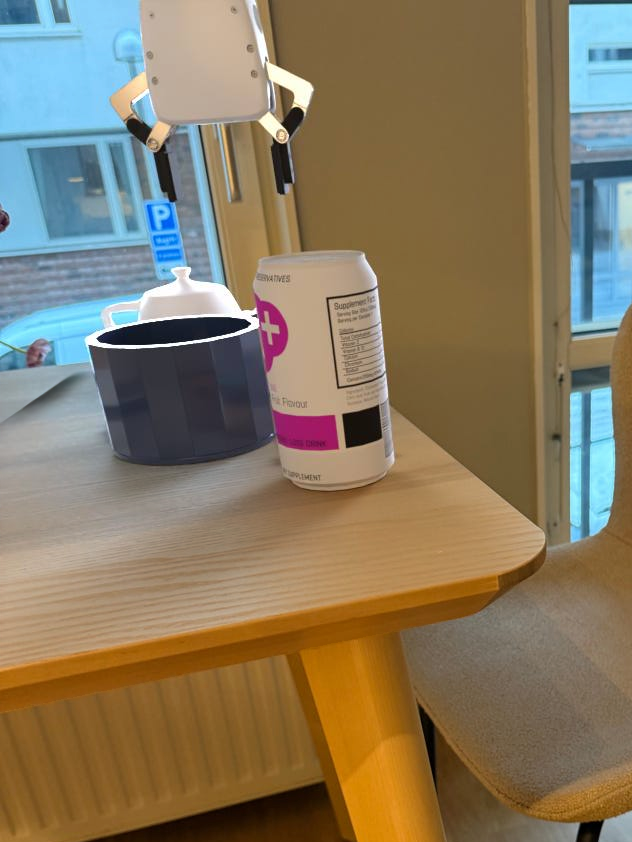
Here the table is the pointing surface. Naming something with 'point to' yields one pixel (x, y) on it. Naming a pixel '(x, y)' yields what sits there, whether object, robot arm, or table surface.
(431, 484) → the table surface
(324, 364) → the supplement can
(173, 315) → the teapot
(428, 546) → the table surface
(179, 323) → the canister
